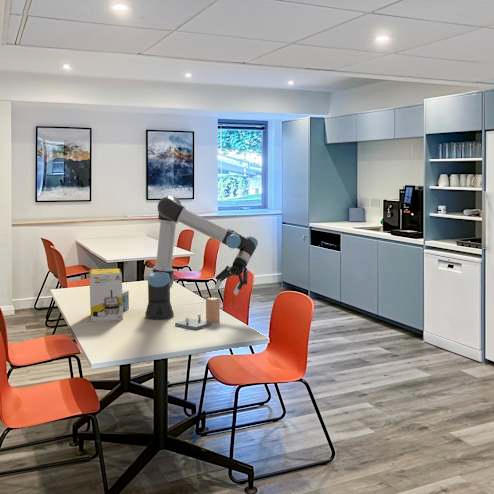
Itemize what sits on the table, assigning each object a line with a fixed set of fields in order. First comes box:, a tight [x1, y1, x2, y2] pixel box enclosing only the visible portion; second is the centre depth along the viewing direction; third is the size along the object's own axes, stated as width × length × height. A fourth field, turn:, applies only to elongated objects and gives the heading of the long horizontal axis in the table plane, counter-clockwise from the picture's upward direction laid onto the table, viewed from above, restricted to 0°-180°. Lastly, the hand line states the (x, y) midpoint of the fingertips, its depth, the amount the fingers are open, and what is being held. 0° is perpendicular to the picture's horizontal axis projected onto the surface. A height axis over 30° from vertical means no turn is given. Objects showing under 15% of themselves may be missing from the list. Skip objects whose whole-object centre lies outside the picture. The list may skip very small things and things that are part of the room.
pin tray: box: [174, 313, 213, 331], centre depth 307 cm, size 14×12×5 cm
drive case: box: [205, 296, 221, 324], centre depth 316 cm, size 5×5×12 cm
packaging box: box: [88, 268, 124, 322], centre depth 324 cm, size 16×16×25 cm
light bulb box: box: [122, 289, 130, 313], centre depth 341 cm, size 11×7×11 cm, turn 169°
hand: (224, 292), depth 322 cm, fingers open, 13 cm apart
